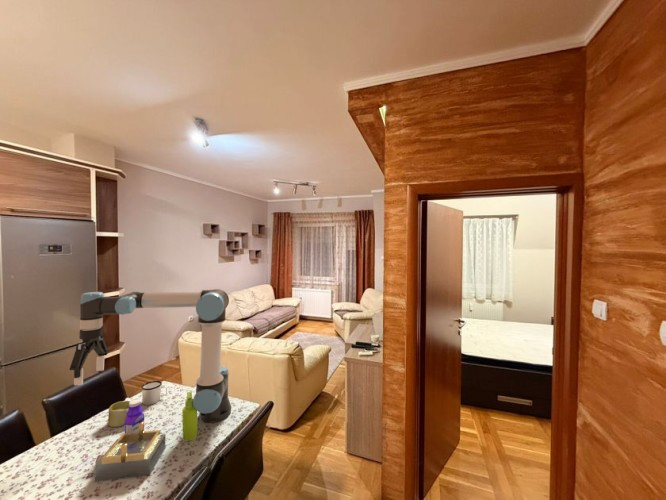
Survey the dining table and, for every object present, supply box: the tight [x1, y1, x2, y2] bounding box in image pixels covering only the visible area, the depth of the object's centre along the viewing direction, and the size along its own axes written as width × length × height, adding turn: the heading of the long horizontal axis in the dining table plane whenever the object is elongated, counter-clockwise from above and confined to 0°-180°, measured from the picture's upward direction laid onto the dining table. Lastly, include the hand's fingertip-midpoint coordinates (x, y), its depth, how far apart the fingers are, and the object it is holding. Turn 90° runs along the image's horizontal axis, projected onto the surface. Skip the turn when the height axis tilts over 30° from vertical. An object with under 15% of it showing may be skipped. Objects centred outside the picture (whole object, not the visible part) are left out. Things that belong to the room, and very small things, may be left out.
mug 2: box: [140, 380, 168, 406], centre depth 153 cm, size 12×10×9 cm
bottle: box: [124, 399, 145, 433], centre depth 121 cm, size 7×6×17 cm
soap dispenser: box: [181, 391, 198, 442], centre depth 124 cm, size 6×7×20 cm
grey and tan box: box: [94, 421, 167, 483], centre depth 108 cm, size 21×15×12 cm
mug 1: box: [107, 400, 131, 428], centre depth 133 cm, size 12×10×10 cm
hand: (89, 377), depth 119 cm, fingers open, 13 cm apart
